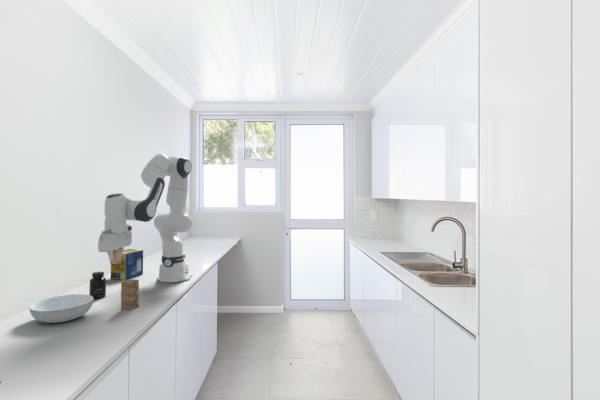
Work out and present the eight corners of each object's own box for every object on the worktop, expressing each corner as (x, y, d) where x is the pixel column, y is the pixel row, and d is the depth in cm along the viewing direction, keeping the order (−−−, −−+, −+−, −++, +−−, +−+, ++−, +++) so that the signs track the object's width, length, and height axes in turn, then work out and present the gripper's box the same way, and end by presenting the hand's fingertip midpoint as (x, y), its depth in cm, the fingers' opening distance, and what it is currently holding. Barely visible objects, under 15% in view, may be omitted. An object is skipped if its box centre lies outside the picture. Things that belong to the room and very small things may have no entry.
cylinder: (114, 261, 161) (113, 249, 161) (123, 262, 161) (123, 249, 161) (107, 263, 157) (107, 250, 156) (117, 264, 156) (117, 251, 156)
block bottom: (127, 306, 153) (127, 297, 153) (138, 306, 152) (138, 297, 152) (121, 309, 148) (121, 300, 148) (132, 310, 147) (132, 301, 147)
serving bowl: (38, 313, 142) (38, 297, 142) (97, 307, 150) (97, 292, 150) (21, 332, 123) (21, 313, 123) (88, 324, 131) (88, 306, 131)
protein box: (110, 279, 200) (110, 252, 200) (129, 273, 215) (129, 248, 215) (125, 280, 198) (125, 253, 197) (143, 274, 213) (143, 249, 212)
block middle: (127, 297, 153) (127, 288, 152) (138, 297, 152) (138, 288, 152) (121, 300, 148) (121, 291, 147) (132, 301, 147) (132, 291, 147)
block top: (127, 288, 152) (128, 279, 152) (138, 288, 152) (138, 279, 152) (121, 291, 147) (121, 282, 147) (132, 291, 147) (132, 282, 147)
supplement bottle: (98, 300, 161) (98, 274, 161) (85, 298, 162) (86, 273, 162) (109, 295, 167) (109, 271, 167) (97, 294, 169) (97, 270, 169)
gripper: (107, 231, 148) (107, 263, 148) (134, 226, 168) (134, 254, 168) (93, 231, 148) (94, 262, 149) (122, 226, 169) (122, 254, 169)
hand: (115, 258), depth 159 cm, fingers closed on cylinder, 5 cm apart
